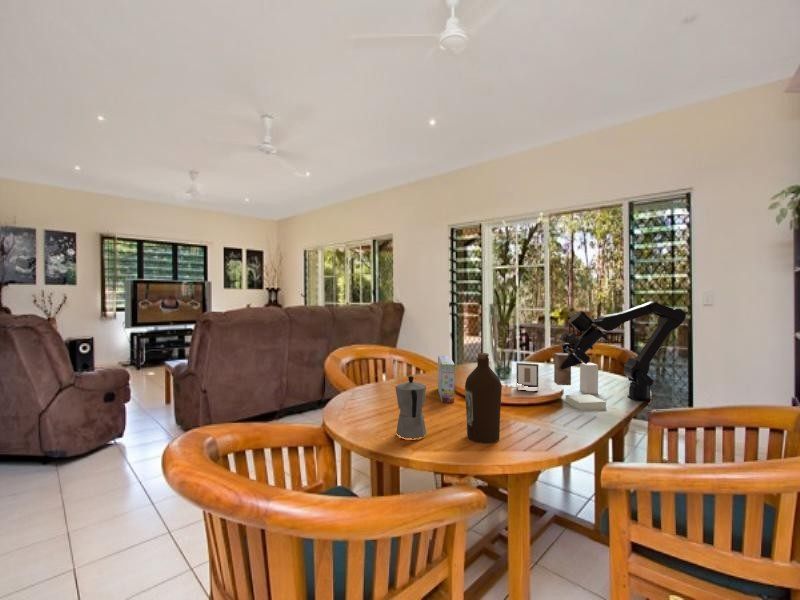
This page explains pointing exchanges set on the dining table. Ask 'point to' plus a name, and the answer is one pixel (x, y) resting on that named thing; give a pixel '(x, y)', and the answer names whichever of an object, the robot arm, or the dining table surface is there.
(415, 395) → the coffeepot
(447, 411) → the dining table surface
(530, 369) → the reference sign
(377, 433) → the dining table surface
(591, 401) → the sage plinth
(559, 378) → the walnut block
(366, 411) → the dining table surface
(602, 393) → the dining table surface
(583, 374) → the grey block
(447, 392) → the snack box
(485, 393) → the olive oil
